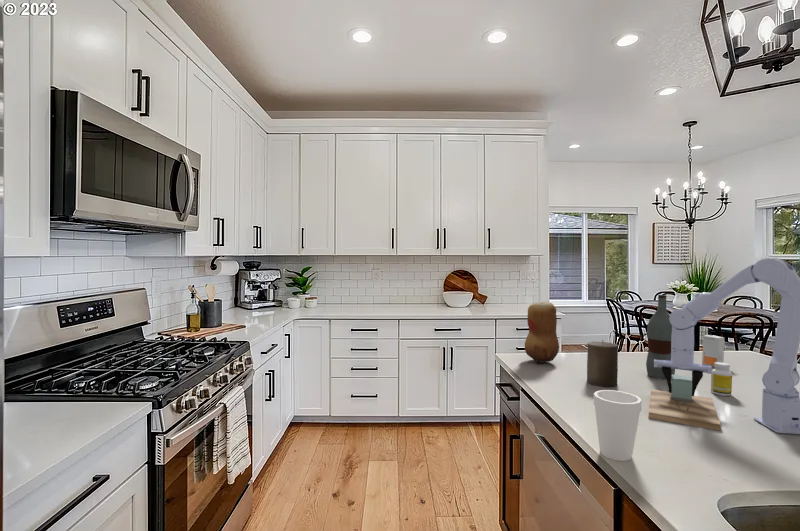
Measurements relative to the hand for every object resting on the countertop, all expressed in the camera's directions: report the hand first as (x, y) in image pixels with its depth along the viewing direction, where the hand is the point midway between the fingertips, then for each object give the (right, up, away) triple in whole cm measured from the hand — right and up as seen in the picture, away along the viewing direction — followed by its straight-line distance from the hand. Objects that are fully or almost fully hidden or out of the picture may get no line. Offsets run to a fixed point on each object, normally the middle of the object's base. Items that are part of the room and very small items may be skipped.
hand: (681, 393), depth 131 cm
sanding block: (0, -1, 0) cm, 1 cm away
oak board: (-4, -3, -6) cm, 8 cm away
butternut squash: (-26, -2, +48) cm, 55 cm away
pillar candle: (-15, -2, +20) cm, 25 cm away
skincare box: (+42, -2, +45) cm, 62 cm away
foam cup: (-37, -4, -34) cm, 50 cm away
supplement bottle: (+19, -3, +10) cm, 22 cm away
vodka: (+11, -2, +29) cm, 31 cm away
